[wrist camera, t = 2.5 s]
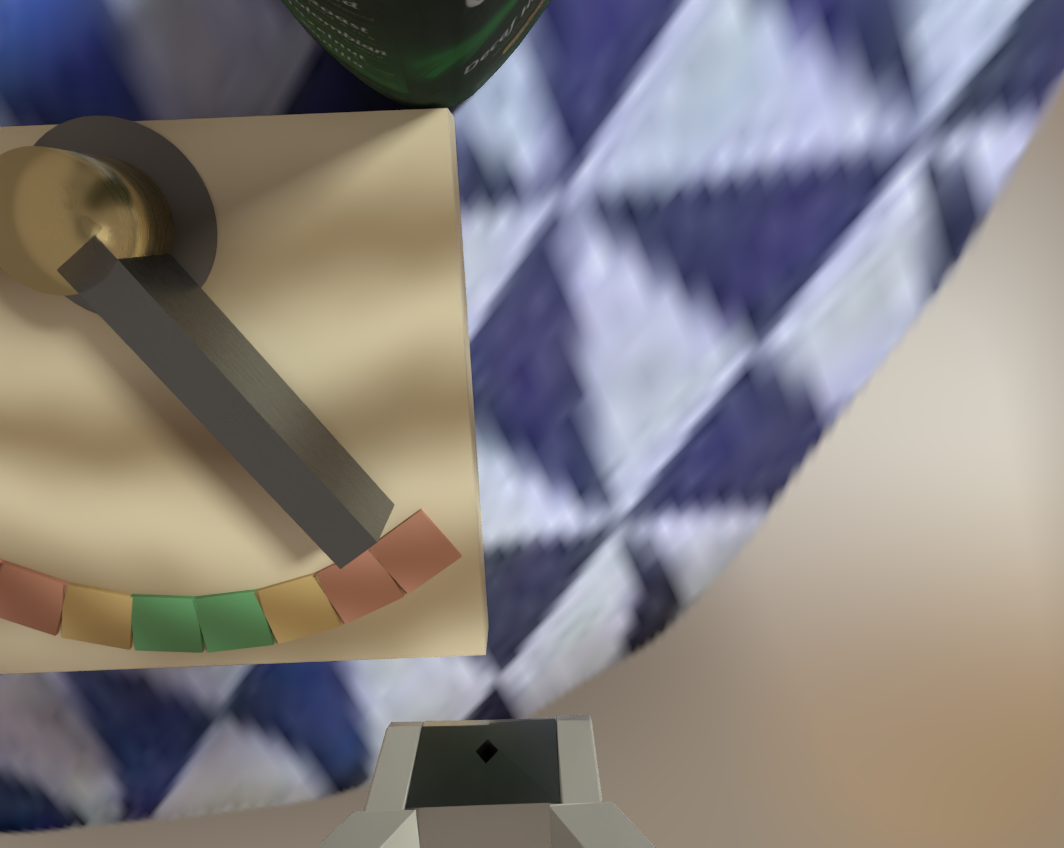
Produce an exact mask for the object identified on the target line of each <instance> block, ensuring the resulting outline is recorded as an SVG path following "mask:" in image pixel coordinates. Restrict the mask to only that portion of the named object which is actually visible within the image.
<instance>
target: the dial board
mask: <svg viewBox="0 0 1064 848" xmlns="http://www.w3.org/2000/svg"><path fill="white" fill-rule="evenodd" d="M24 146H41V147H49V148H56V149H62V150H69V151H76V152H82V153H89V154H96V155H103V156H109V157H114V158H118V159H121V160H124V161H126V162H128V163H130V164H132V165H134V166H136V167H137V168H139V169H140V170H142V171H143V172H144V173H145V174H147V175H148V176H149V177H150V178H151V179H152V180H153V181H154V182H155V183H156V185H157V186H158V187H159V188H160V190H161V191H162V193H163V195H164V196H165V198H166V200H167V202H168V204H169V207H170V210H171V213H172V217H173V222H174V242H173V248H172V251H171V255H172V256H173V257H174V258H175V259H176V260H177V262H178V263H179V264H180V265H181V266H182V267H183V268H184V269H185V270H186V272H187V273H188V274H189V275H190V276H191V277H192V278H193V279H194V281H195V282H196V283H197V284H198V285H199V286H200V287H201V288H202V290H203V291H204V292H205V293H206V294H207V295H208V296H209V297H210V298H211V300H212V301H213V302H214V303H215V304H216V305H217V306H218V307H219V309H220V310H221V311H222V312H223V313H224V314H225V315H226V316H227V318H228V319H229V320H230V321H231V322H232V323H233V324H234V325H235V326H236V328H237V329H238V330H239V331H240V332H241V333H242V334H243V335H244V337H245V338H246V339H247V340H248V341H249V342H250V343H251V344H252V345H253V347H254V348H255V349H256V350H257V351H258V352H259V353H260V354H261V356H262V357H263V358H264V359H265V360H266V361H267V362H268V363H269V365H270V366H271V367H272V368H273V369H274V370H275V371H276V372H277V373H278V375H279V376H280V377H281V378H282V379H283V380H284V381H285V382H286V384H287V385H288V386H289V387H290V388H291V389H292V390H293V391H294V392H295V394H296V395H297V396H298V397H299V398H300V399H301V400H302V401H303V403H304V404H305V405H306V406H307V407H308V408H309V409H310V410H311V412H312V413H313V414H314V415H315V416H316V417H317V418H318V419H319V420H320V422H321V423H322V424H323V425H324V426H325V427H326V428H327V429H328V431H329V432H330V433H331V434H332V435H333V436H334V437H335V438H336V439H337V441H338V442H339V443H340V444H341V445H342V446H343V447H344V448H345V450H346V451H347V452H348V453H349V454H350V455H351V456H352V457H353V459H354V460H355V461H356V462H357V463H358V464H359V465H360V466H361V467H362V469H363V470H364V471H365V472H366V473H367V474H368V475H369V476H370V478H371V479H372V480H373V481H374V482H375V483H376V484H377V485H378V487H379V488H380V489H381V490H382V491H383V492H384V493H385V494H386V495H387V497H388V498H389V499H390V500H391V501H392V502H393V503H394V504H395V505H394V507H393V510H392V512H391V514H390V516H389V518H388V521H387V523H386V525H385V527H384V529H383V532H382V534H381V536H380V538H379V540H378V542H377V543H376V544H375V545H373V546H372V547H371V548H369V549H368V550H366V551H365V552H364V553H362V554H361V555H360V556H358V557H357V558H355V559H354V560H353V561H351V562H350V563H349V564H347V565H346V566H344V567H343V568H342V569H339V568H338V566H337V565H336V564H335V563H334V562H333V561H332V560H331V559H330V558H329V557H328V556H327V555H326V554H325V553H324V552H323V551H322V550H321V549H320V547H319V546H318V545H317V544H316V543H315V542H314V541H313V540H312V539H311V538H310V537H309V536H308V535H307V534H306V533H305V532H304V531H303V530H302V529H301V527H300V526H299V525H298V524H297V523H296V522H295V521H294V520H293V519H292V518H291V517H290V516H289V515H288V514H287V513H286V512H285V511H284V510H283V508H282V507H281V506H280V505H279V504H278V503H277V502H276V501H275V500H274V499H273V498H272V497H271V496H270V495H269V494H268V493H267V492H266V491H265V490H264V488H263V487H262V486H261V485H260V484H259V483H258V482H257V481H256V480H255V479H254V478H253V477H252V476H251V475H250V474H249V473H248V472H247V471H246V469H245V468H244V467H243V466H242V465H241V464H240V463H239V462H238V461H237V460H236V459H235V458H234V457H233V456H232V455H231V454H230V453H229V452H228V451H227V449H226V448H225V447H224V446H223V445H222V444H221V443H220V442H219V441H218V440H217V439H216V438H215V437H214V436H213V435H212V434H211V433H210V432H209V430H208V429H207V428H206V427H205V426H204V425H203V424H202V423H201V422H200V421H199V420H198V419H197V418H196V417H195V416H194V415H193V414H192V413H191V412H190V410H189V409H188V408H187V407H186V406H185V405H184V404H183V403H182V402H181V401H180V400H179V399H178V398H177V397H176V396H175V395H174V394H173V393H172V391H171V390H170V389H169V388H168V387H167V386H166V385H165V384H164V383H163V382H162V381H161V380H160V379H159V378H158V377H157V376H156V375H155V374H154V373H153V371H152V370H151V369H150V368H149V367H148V366H147V365H146V364H145V363H144V362H143V361H142V360H141V359H140V358H139V357H138V356H137V355H136V354H135V352H134V351H133V350H132V349H131V348H130V347H129V346H128V345H127V344H126V343H125V342H124V341H123V340H122V339H121V338H120V337H119V336H118V335H117V334H116V332H115V331H114V330H113V329H112V328H111V327H110V326H109V325H108V324H107V323H106V322H105V321H104V320H103V319H102V318H101V317H100V316H99V315H98V314H97V312H96V311H95V310H94V309H93V308H92V307H91V306H90V305H89V304H88V303H87V302H86V301H85V300H84V299H83V298H82V297H81V296H80V295H79V294H75V295H66V296H59V295H50V294H45V293H41V292H38V291H35V290H33V289H30V288H28V287H26V286H24V285H22V284H21V283H19V282H17V281H16V280H14V279H13V278H12V277H10V276H9V275H8V274H7V273H6V272H5V271H4V270H2V269H1V268H0V674H16V673H41V672H67V671H92V670H117V669H142V668H167V667H193V666H218V665H243V664H268V663H293V662H319V661H344V660H369V659H394V658H420V657H445V656H470V655H486V646H487V635H488V614H487V599H486V584H485V569H484V554H483V539H482V524H481V510H480V495H479V480H478V465H477V450H476V435H475V421H474V406H473V391H472V376H471V361H470V346H469V332H468V317H467V302H466V287H465V272H464V257H463V243H462V228H461V213H460V198H459V183H458V168H457V153H456V139H455V124H454V116H453V115H452V114H451V112H450V111H449V109H448V108H436V109H413V110H389V111H365V112H341V113H318V114H294V115H270V116H247V117H223V118H199V119H175V120H152V121H130V120H126V119H123V118H118V117H112V116H98V115H93V116H84V117H79V118H75V119H71V120H68V121H66V122H64V123H61V124H57V125H33V126H9V127H0V155H1V154H3V153H4V152H6V151H9V150H12V149H14V148H19V147H24Z"/></svg>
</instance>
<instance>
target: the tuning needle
mask: <svg viewBox="0 0 1064 848" xmlns="http://www.w3.org/2000/svg"><path fill="white" fill-rule="evenodd" d="M173 242H174V222H173V217H172V213H171V210H170V207H169V204H168V202H167V200H166V198H165V196H164V195H163V193H162V191H161V190H160V188H159V187H158V186H157V185H156V183H155V182H154V181H153V180H152V179H151V178H150V177H149V176H148V175H147V174H145V173H144V172H143V171H142V170H140V169H139V168H137V167H136V166H134V165H132V164H130V163H128V162H126V161H124V160H121V159H118V158H114V157H109V156H103V155H96V154H89V153H82V152H76V151H69V150H62V149H56V148H49V147H41V146H24V147H19V148H14V149H12V150H9V151H6V152H4V153H3V154H1V155H0V268H1V269H2V270H4V271H5V272H6V273H7V274H8V275H9V276H10V277H12V278H13V279H14V280H16V281H17V282H19V283H21V284H22V285H24V286H26V287H28V288H30V289H33V290H35V291H38V292H41V293H45V294H50V295H59V296H66V295H75V294H79V295H80V296H81V297H82V298H83V299H84V300H85V301H86V302H87V303H88V304H89V305H90V306H91V307H92V308H93V309H94V310H95V311H96V312H97V314H98V315H99V316H100V317H101V318H102V319H103V320H104V321H105V322H106V323H107V324H108V325H109V326H110V327H111V328H112V329H113V330H114V331H115V332H116V334H117V335H118V336H119V337H120V338H121V339H122V340H123V341H124V342H125V343H126V344H127V345H128V346H129V347H130V348H131V349H132V350H133V351H134V352H135V354H136V355H137V356H138V357H139V358H140V359H141V360H142V361H143V362H144V363H145V364H146V365H147V366H148V367H149V368H150V369H151V370H152V371H153V373H154V374H155V375H156V376H157V377H158V378H159V379H160V380H161V381H162V382H163V383H164V384H165V385H166V386H167V387H168V388H169V389H170V390H171V391H172V393H173V394H174V395H175V396H176V397H177V398H178V399H179V400H180V401H181V402H182V403H183V404H184V405H185V406H186V407H187V408H188V409H189V410H190V412H191V413H192V414H193V415H194V416H195V417H196V418H197V419H198V420H199V421H200V422H201V423H202V424H203V425H204V426H205V427H206V428H207V429H208V430H209V432H210V433H211V434H212V435H213V436H214V437H215V438H216V439H217V440H218V441H219V442H220V443H221V444H222V445H223V446H224V447H225V448H226V449H227V451H228V452H229V453H230V454H231V455H232V456H233V457H234V458H235V459H236V460H237V461H238V462H239V463H240V464H241V465H242V466H243V467H244V468H245V469H246V471H247V472H248V473H249V474H250V475H251V476H252V477H253V478H254V479H255V480H256V481H257V482H258V483H259V484H260V485H261V486H262V487H263V488H264V490H265V491H266V492H267V493H268V494H269V495H270V496H271V497H272V498H273V499H274V500H275V501H276V502H277V503H278V504H279V505H280V506H281V507H282V508H283V510H284V511H285V512H286V513H287V514H288V515H289V516H290V517H291V518H292V519H293V520H294V521H295V522H296V523H297V524H298V525H299V526H300V527H301V529H302V530H303V531H304V532H305V533H306V534H307V535H308V536H309V537H310V538H311V539H312V540H313V541H314V542H315V543H316V544H317V545H318V546H319V547H320V549H321V550H322V551H323V552H324V553H325V554H326V555H327V556H328V557H329V558H330V559H331V560H332V561H333V562H334V563H335V564H336V565H337V566H338V568H339V569H342V568H343V567H344V566H346V565H347V564H349V563H350V562H351V561H353V560H354V559H355V558H357V557H358V556H360V555H361V554H362V553H364V552H365V551H366V550H368V549H369V548H371V547H372V546H373V545H375V544H376V543H377V542H378V540H379V538H380V536H381V534H382V532H383V529H384V527H385V525H386V523H387V521H388V518H389V516H390V514H391V512H392V510H393V507H394V505H395V504H394V503H393V502H392V501H391V500H390V499H389V498H388V497H387V495H386V494H385V493H384V492H383V491H382V490H381V489H380V488H379V487H378V485H377V484H376V483H375V482H374V481H373V480H372V479H371V478H370V476H369V475H368V474H367V473H366V472H365V471H364V470H363V469H362V467H361V466H360V465H359V464H358V463H357V462H356V461H355V460H354V459H353V457H352V456H351V455H350V454H349V453H348V452H347V451H346V450H345V448H344V447H343V446H342V445H341V444H340V443H339V442H338V441H337V439H336V438H335V437H334V436H333V435H332V434H331V433H330V432H329V431H328V429H327V428H326V427H325V426H324V425H323V424H322V423H321V422H320V420H319V419H318V418H317V417H316V416H315V415H314V414H313V413H312V412H311V410H310V409H309V408H308V407H307V406H306V405H305V404H304V403H303V401H302V400H301V399H300V398H299V397H298V396H297V395H296V394H295V392H294V391H293V390H292V389H291V388H290V387H289V386H288V385H287V384H286V382H285V381H284V380H283V379H282V378H281V377H280V376H279V375H278V373H277V372H276V371H275V370H274V369H273V368H272V367H271V366H270V365H269V363H268V362H267V361H266V360H265V359H264V358H263V357H262V356H261V354H260V353H259V352H258V351H257V350H256V349H255V348H254V347H253V345H252V344H251V343H250V342H249V341H248V340H247V339H246V338H245V337H244V335H243V334H242V333H241V332H240V331H239V330H238V329H237V328H236V326H235V325H234V324H233V323H232V322H231V321H230V320H229V319H228V318H227V316H226V315H225V314H224V313H223V312H222V311H221V310H220V309H219V307H218V306H217V305H216V304H215V303H214V302H213V301H212V300H211V298H210V297H209V296H208V295H207V294H206V293H205V292H204V291H203V290H202V288H201V287H200V286H199V285H198V284H197V283H196V282H195V281H194V279H193V278H192V277H191V276H190V275H189V274H188V273H187V272H186V270H185V269H184V268H183V267H182V266H181V265H180V264H179V263H178V262H177V260H176V259H175V258H174V257H173V256H172V255H171V251H172V248H173Z"/></svg>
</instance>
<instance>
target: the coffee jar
mask: <svg viewBox="0 0 1064 848" xmlns="http://www.w3.org/2000/svg"><path fill="white" fill-rule="evenodd" d="M282 1H283V2H284V4H285V5H286V6H287V7H288V9H289V10H290V11H291V13H292V14H293V15H294V17H295V18H296V19H297V20H298V21H299V22H300V24H301V25H302V26H303V27H304V28H305V29H306V30H307V32H308V33H309V34H310V35H311V36H312V37H313V38H314V39H315V40H316V41H317V42H318V43H319V44H320V45H321V46H322V47H323V48H324V49H325V50H326V51H327V52H328V53H329V54H330V55H331V56H333V57H334V58H335V59H336V60H337V61H338V62H339V63H340V64H341V65H342V66H343V67H345V68H346V69H347V70H348V71H350V72H351V73H352V74H353V75H355V76H356V77H357V78H358V79H360V80H361V81H362V82H364V83H365V84H366V85H368V86H369V87H371V88H372V89H373V90H375V91H376V92H378V93H380V94H381V95H383V96H385V97H386V98H388V99H390V100H392V101H394V102H396V103H398V104H400V105H403V106H406V107H409V108H414V109H436V108H448V107H451V106H454V105H456V104H458V103H461V102H463V101H464V100H466V99H467V98H469V97H470V96H472V95H473V94H474V93H475V92H476V91H477V90H478V89H479V88H480V87H481V86H483V85H484V84H485V83H486V81H487V80H488V79H489V78H490V77H491V76H492V75H493V74H494V73H495V72H496V71H497V70H498V69H499V68H500V67H501V66H502V64H503V63H504V62H505V61H506V60H507V59H508V58H509V56H510V55H511V54H512V53H513V52H514V50H515V49H516V48H517V47H518V46H519V45H520V43H521V42H522V40H523V39H524V38H525V36H526V35H527V34H528V32H529V31H530V29H531V28H532V27H533V25H534V24H535V23H536V21H537V20H538V18H539V17H540V16H541V14H542V13H543V11H544V10H545V8H546V7H547V6H548V4H549V2H550V1H551V0H282Z"/></svg>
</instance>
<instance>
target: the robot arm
mask: <svg viewBox="0 0 1064 848" xmlns="http://www.w3.org/2000/svg"><path fill="white" fill-rule="evenodd" d="M316 848H656V847H655V846H654V845H653V844H652V843H651V842H650V841H649V840H648V839H647V838H646V837H645V836H644V835H643V834H642V832H640V830H639V829H638V828H637V827H636V826H635V825H634V824H633V823H632V822H631V821H630V820H629V819H628V818H627V817H626V816H625V815H624V814H623V812H622V811H621V810H620V809H619V808H618V807H617V806H616V805H615V804H614V803H613V802H602V796H601V788H600V781H599V774H598V766H597V758H596V750H595V743H594V735H593V728H592V721H591V718H590V716H589V715H588V714H587V715H572V716H571V715H570V716H557V717H556V720H555V717H551V718H550V717H549V718H527V719H505V720H460V721H425V722H391V724H390V725H389V726H388V728H387V729H386V732H385V736H384V739H383V743H382V747H381V750H380V754H379V757H378V761H377V765H376V768H375V772H374V775H373V779H372V783H371V786H370V790H369V793H368V797H367V801H366V805H365V808H364V811H363V812H353V813H352V814H351V815H350V816H349V817H347V818H346V819H345V820H344V821H343V822H342V823H341V824H340V825H339V826H338V827H337V828H336V829H335V830H334V831H333V832H332V833H331V834H330V835H328V836H327V837H326V838H325V839H324V840H323V841H322V842H321V843H320V844H319V845H318V846H317V847H316Z"/></svg>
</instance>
